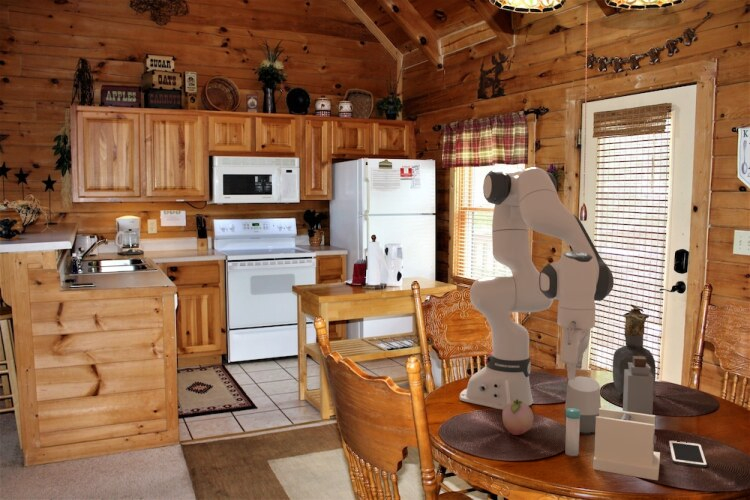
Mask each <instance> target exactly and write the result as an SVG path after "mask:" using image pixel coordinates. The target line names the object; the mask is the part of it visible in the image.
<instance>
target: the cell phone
mask: <svg viewBox="0 0 750 500" xmlns="http://www.w3.org/2000/svg"><path fill="white" fill-rule="evenodd" d="M677 441H678V440H674V439H672V440H671V439H669V440H668V443H669V444H668V448H669V447H670V449H669V453H671V454H670V458H672V459H671V462H672V464H675V463H679V464H678V465H680V464H686V465H685V466H688V465H693V466H692V467H695V466H700V467H699V468H703V467H707V468H708V461H707V459H706V456H705V452H704V449H703V446H702V444H701V443H698V442H691V441H690V442H689V441H682V440H679V441H680V442H677ZM686 442H687V443H686Z"/></svg>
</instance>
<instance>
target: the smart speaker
mask: <svg viewBox="0 0 750 500" xmlns="http://www.w3.org/2000/svg"><path fill="white" fill-rule="evenodd" d="M600 387H601V386H600V383H599V382H598V381H597V380H595V379H594V378H591V377H589V376H579V375H578V376H577V375H576V378H575V379H574V380H572V379H568V381H567V387H566V396H565V405H564V406H565V407H564V422H565V424H566V409H568V408H574V409H578V410H580V427H579V434H583V435H590V434H593V433H594V434H595V427H596V416H599V408H602V406H601V404H602V403H601V388H600Z"/></svg>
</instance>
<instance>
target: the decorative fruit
mask: <svg viewBox="0 0 750 500" xmlns="http://www.w3.org/2000/svg"><path fill="white" fill-rule="evenodd" d="M501 415H502V417H501V418H502V422H503V426H504V428H505V430H507V431H508V432H509V433H510V434H511V435H513V436H515V435H517V436H519V435H523V434H525V433H526V432H528V431H529V430H530V429H532V426H533V425H534V421H535V417H534V413H533V410H532V409H531V407H530V405H529V406H527V405H526V404H524V403H522V401H518V399H517V400H515V401H513V402H511V403H509V404H507V405H506V406H505V407H504V409H502V413H501Z"/></svg>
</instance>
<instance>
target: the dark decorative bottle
mask: <svg viewBox="0 0 750 500" xmlns="http://www.w3.org/2000/svg"><path fill="white" fill-rule="evenodd" d="M630 307H632V308H631V309H630V311H628V312H626V313H624V314H623V315H622V316H623V317H624V318H625V322H624V323H625V324H624V338H625V339H624V340H625V345H623V346H621V347H619V348H617V349H616V350H615V351H614V353H613V357H612V381H613V384H614V388H615V389H616V391H617V392H619V393H620V395H619V397H620V400H622V401H623V393H624V369H629V367H628V362H630V363H633V357H632V356H644V357H645V358H646V359H647V361H646V363H647V364H648V365H649V366H650V367H651V371H650V373H651V374H652V375H653V376H654V387H653V390H654V388H655V384H656V373H657V372H656V360H655V358H654V356H653V353H652V352H651V351H650V350H649V349H647V348H646V347H644V335H645V323H646V320H647V319H648V318H649V317H650V316H649V315H650V314H643V313H644V310H643V309H642V308H639V306H636V305H634V304H630Z"/></svg>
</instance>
